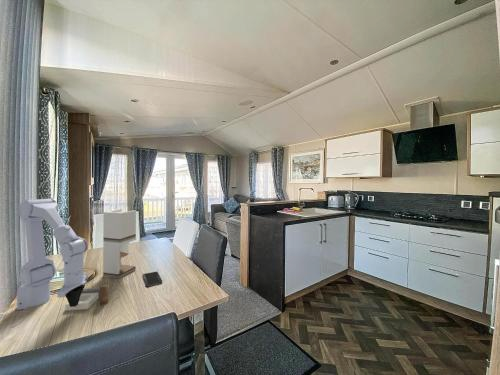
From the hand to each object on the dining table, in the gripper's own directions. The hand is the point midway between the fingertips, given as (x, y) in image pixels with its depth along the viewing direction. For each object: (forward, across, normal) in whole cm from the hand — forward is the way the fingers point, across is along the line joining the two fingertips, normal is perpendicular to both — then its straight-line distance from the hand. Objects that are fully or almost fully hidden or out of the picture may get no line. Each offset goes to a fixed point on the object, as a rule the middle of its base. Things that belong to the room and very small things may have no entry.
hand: (73, 305), depth 83 cm
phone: (+4, +27, -21) cm, 35 cm away
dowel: (+3, +6, -8) cm, 10 cm away
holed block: (+3, +6, 0) cm, 6 cm away
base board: (+3, +2, 0) cm, 4 cm away
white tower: (+4, +38, -1) cm, 38 cm away
